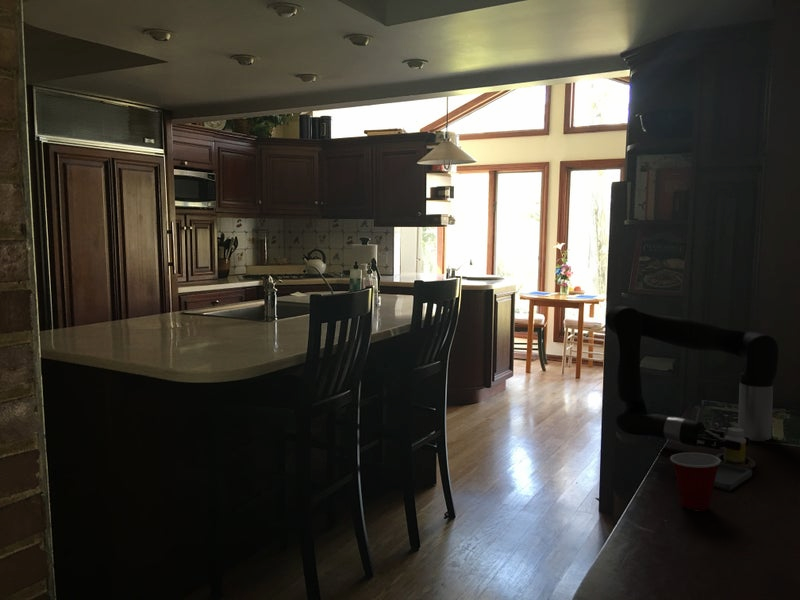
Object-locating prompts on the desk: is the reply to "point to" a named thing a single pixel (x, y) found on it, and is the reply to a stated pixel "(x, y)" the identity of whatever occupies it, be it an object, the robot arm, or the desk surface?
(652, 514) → the desk surface
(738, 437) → the supplement bottle
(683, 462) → the plastic cup
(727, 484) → the tray
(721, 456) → the ring collar
